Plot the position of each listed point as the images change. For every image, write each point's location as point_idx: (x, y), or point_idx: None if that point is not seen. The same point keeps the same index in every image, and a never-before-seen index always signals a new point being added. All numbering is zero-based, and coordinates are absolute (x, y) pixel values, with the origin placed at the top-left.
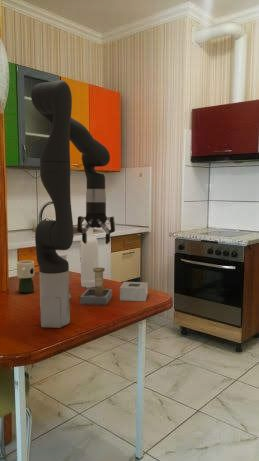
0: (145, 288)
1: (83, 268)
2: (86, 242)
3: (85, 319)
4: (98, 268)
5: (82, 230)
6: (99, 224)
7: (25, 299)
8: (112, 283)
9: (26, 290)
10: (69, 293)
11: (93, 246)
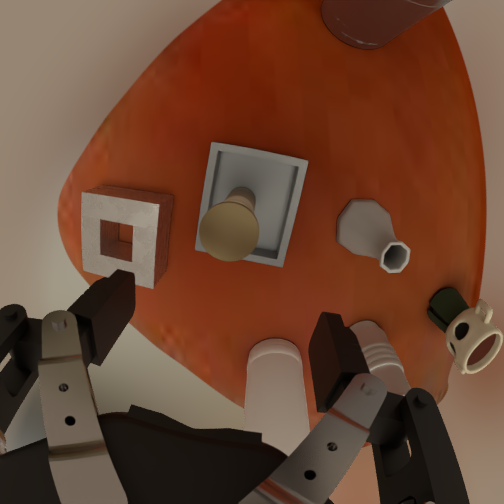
0: (82, 194)
1: (297, 385)
2: (312, 340)
3: (279, 26)
4: (230, 238)
5: (379, 410)
6: (100, 431)
7: (450, 237)
8: (208, 369)
9: (448, 291)
10: (344, 242)
11: None
